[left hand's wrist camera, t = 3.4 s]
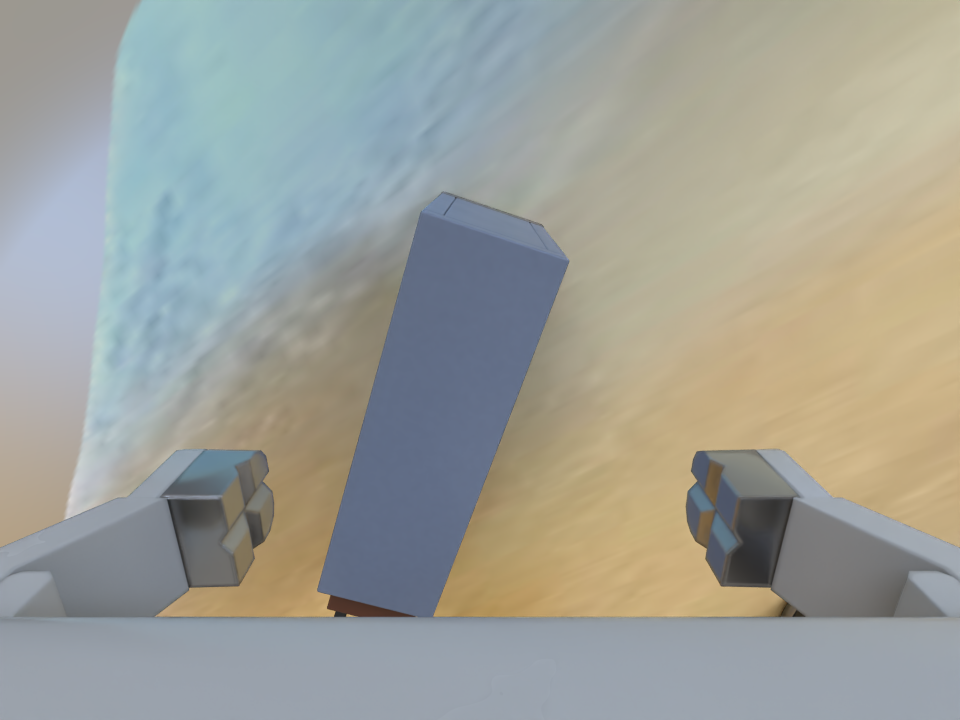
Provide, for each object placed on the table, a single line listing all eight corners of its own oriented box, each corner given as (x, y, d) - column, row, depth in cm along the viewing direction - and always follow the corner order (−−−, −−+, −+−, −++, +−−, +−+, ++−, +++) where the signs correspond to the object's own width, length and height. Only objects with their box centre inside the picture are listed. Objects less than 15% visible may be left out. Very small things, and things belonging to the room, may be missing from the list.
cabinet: (446, 491, 34) (431, 621, 24) (364, 468, 33) (316, 592, 24) (541, 224, 28) (570, 259, 18) (443, 191, 27) (420, 210, 18)
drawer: (405, 586, 35) (382, 707, 28) (343, 570, 35) (303, 689, 27) (513, 275, 28) (524, 322, 20) (437, 250, 27) (418, 288, 20)
